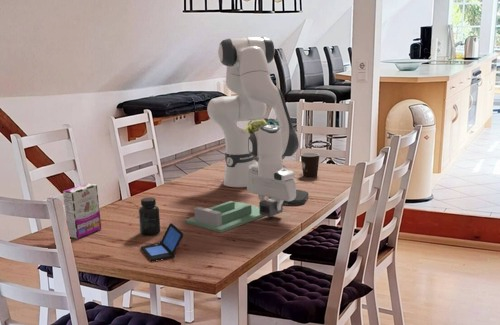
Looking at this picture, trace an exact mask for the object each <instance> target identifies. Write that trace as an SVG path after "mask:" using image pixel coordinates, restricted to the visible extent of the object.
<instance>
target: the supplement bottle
mask: <svg viewBox="0 0 500 325" xmlns="http://www.w3.org/2000/svg"><path fill="white" fill-rule="evenodd" d="M156 204H157V202H156V198H155V197H143V198H141V199H140V207H139V209H138V221H139V233H140V235H141V236H143V237H153V236H157V235H160V233H161V218H160V209H159V206H157V205H156Z"/></svg>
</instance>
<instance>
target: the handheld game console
mask: <svg viewBox="0 0 500 325" xmlns="http://www.w3.org/2000/svg"><path fill="white" fill-rule="evenodd" d="M184 236H185V234H184V232H183V231H182V230H180V229H179V228H178V227H177V226H176V225H175V224H173V223H172V222H170V223H169V224H168V227H167V229H166V230H165V232H164V234H163V236H162V238H161V240H159V242H158V243H152V244H146V245H142V246H140V250H141V252H142V251H143V252H142V253H143V254H144V255H145V256H146V257H147V259H148V260H149V259H150V260H151V261H150V260H149V261H150V262H152V261H155V262H157V261H156V260H161V259H166V260H168V259H167V258H171V259H174V258H173V257H175V258H176V252H177V251H178V248H179V246H180V244H181V242H182V240H183V239H184ZM161 261H162V260H161Z"/></svg>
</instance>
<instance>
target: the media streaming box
mask: <svg viewBox="0 0 500 325" xmlns="http://www.w3.org/2000/svg"><path fill="white" fill-rule="evenodd" d="M269 198H271V197H268V199H269ZM308 200H309V192H308V191H305V190H301V189H296V198H295V199H294V200H292V201H283V203H282V205H283V206H300V205H304V204H305V203H307V201H308Z"/></svg>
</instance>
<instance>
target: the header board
mask: <svg viewBox="0 0 500 325" xmlns="http://www.w3.org/2000/svg"><path fill="white" fill-rule="evenodd" d="M193 211H194V216H193V217H189V218H186V219H184V223H186V224H190V225H193V226H197V227H200V228H203V229H207V230H212V231H215V232H218V233H223V232H227V231H229V230H231V229H234V228H237V227H239V226H242V225H245V224H248V223H250V222H252V221H255V220H257V219H259V218H263V217H266V216H265V215H261V214H260V213H259V206H257V205H254V204H249V203H245V202H240V201H236V202H235V201H232V200H229V201H226V202H223V203H219V204H217V205H213V206H211V207H207V208H206V207H202V206H198V207H194V208H193Z"/></svg>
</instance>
